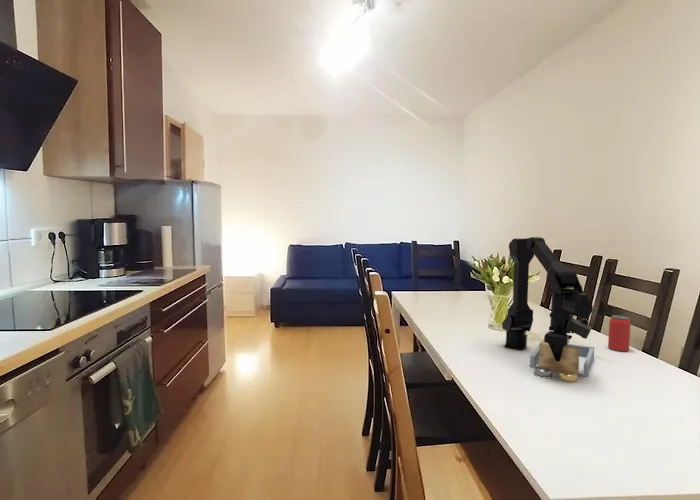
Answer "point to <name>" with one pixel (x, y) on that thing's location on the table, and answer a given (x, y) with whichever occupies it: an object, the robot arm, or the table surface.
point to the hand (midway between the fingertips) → (558, 359)
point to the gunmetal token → (542, 371)
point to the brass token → (568, 376)
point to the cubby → (583, 351)
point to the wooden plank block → (567, 360)
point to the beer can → (619, 333)
